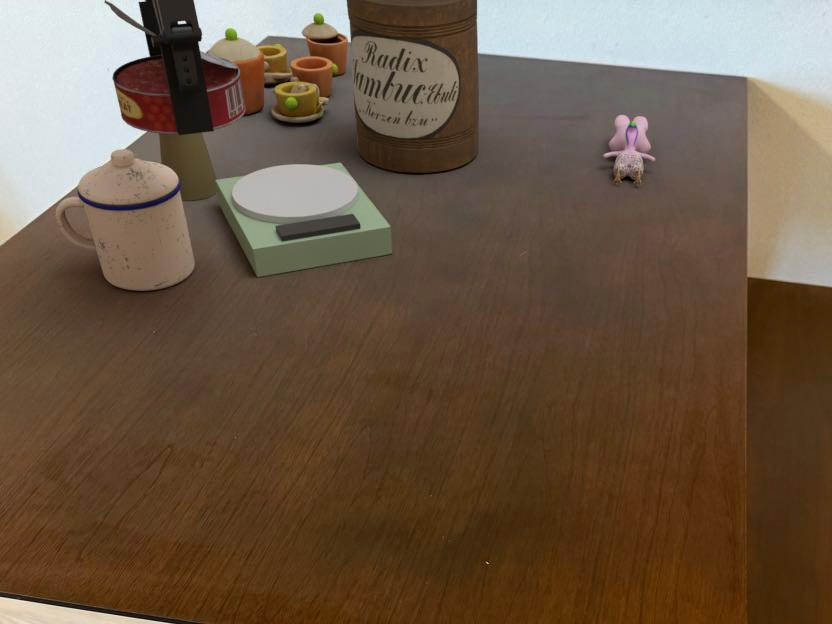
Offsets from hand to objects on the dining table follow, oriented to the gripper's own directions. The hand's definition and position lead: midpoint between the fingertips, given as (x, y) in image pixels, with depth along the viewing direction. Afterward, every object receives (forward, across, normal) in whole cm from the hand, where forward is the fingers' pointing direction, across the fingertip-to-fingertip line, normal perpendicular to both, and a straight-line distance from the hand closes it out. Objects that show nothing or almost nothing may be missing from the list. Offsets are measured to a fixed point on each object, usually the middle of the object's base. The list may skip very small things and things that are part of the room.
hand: (183, 107), depth 79 cm
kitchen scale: (+18, +12, -11) cm, 24 cm away
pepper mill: (+18, +26, -2) cm, 31 cm away
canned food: (0, 0, 0) cm, 0 cm away
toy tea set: (+18, +53, -19) cm, 59 cm away
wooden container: (+18, +28, -30) cm, 45 cm away
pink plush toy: (+18, +17, -53) cm, 58 cm away
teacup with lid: (+18, +9, +7) cm, 21 cm away
